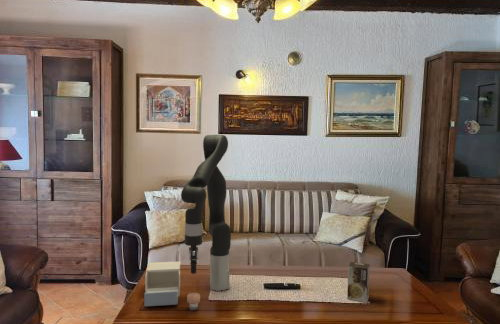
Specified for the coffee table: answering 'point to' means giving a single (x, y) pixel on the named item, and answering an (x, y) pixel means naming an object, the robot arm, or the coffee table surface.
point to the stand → (194, 306)
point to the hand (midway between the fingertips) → (193, 269)
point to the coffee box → (358, 281)
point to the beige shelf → (162, 275)
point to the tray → (161, 296)
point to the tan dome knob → (193, 298)
